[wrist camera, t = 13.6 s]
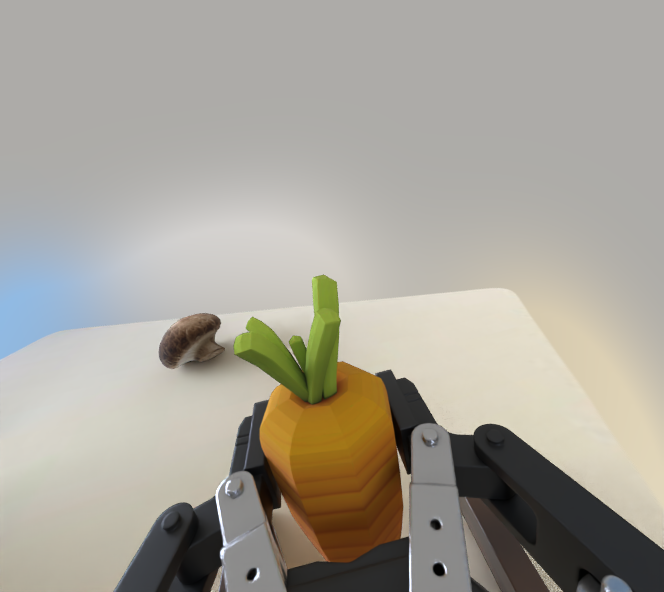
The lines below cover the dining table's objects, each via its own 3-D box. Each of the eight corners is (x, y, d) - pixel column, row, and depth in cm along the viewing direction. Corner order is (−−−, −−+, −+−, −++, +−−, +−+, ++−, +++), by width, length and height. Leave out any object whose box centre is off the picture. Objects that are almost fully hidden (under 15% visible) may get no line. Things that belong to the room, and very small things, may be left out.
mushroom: (241, 330, 37) (198, 294, 36) (188, 388, 33) (140, 349, 33) (236, 338, 44) (201, 307, 43) (192, 385, 41) (153, 353, 40)
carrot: (342, 678, 13) (211, 357, 7) (308, 551, 17) (211, 293, 11) (447, 609, 14) (407, 289, 8) (390, 507, 18) (338, 255, 13)
